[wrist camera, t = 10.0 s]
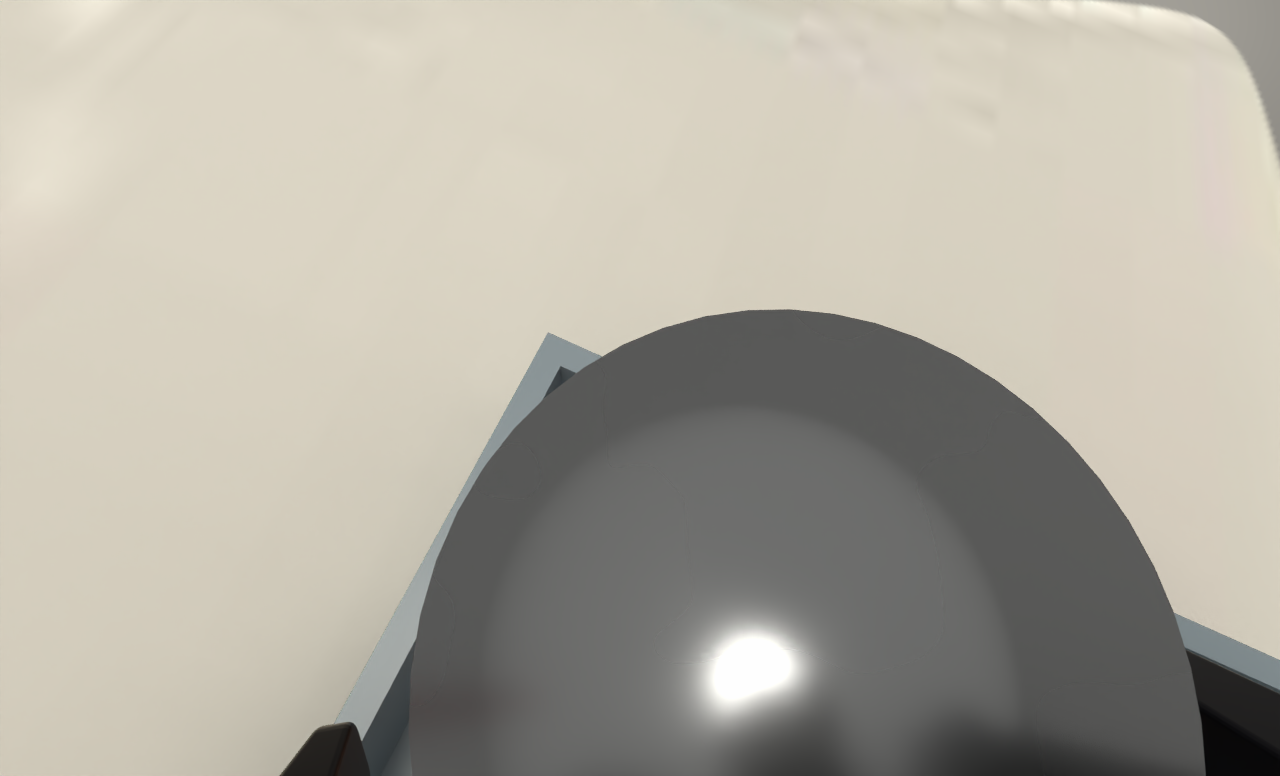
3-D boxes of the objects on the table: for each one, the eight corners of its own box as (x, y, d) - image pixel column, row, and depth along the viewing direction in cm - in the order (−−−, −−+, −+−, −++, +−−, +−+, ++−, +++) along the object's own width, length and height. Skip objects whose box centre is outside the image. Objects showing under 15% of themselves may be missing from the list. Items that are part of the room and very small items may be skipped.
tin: (816, 653, 18) (1343, 668, 6) (647, 858, 16) (890, 1525, 4) (645, 481, 19) (779, 186, 7) (467, 654, 17) (218, 673, 5)
